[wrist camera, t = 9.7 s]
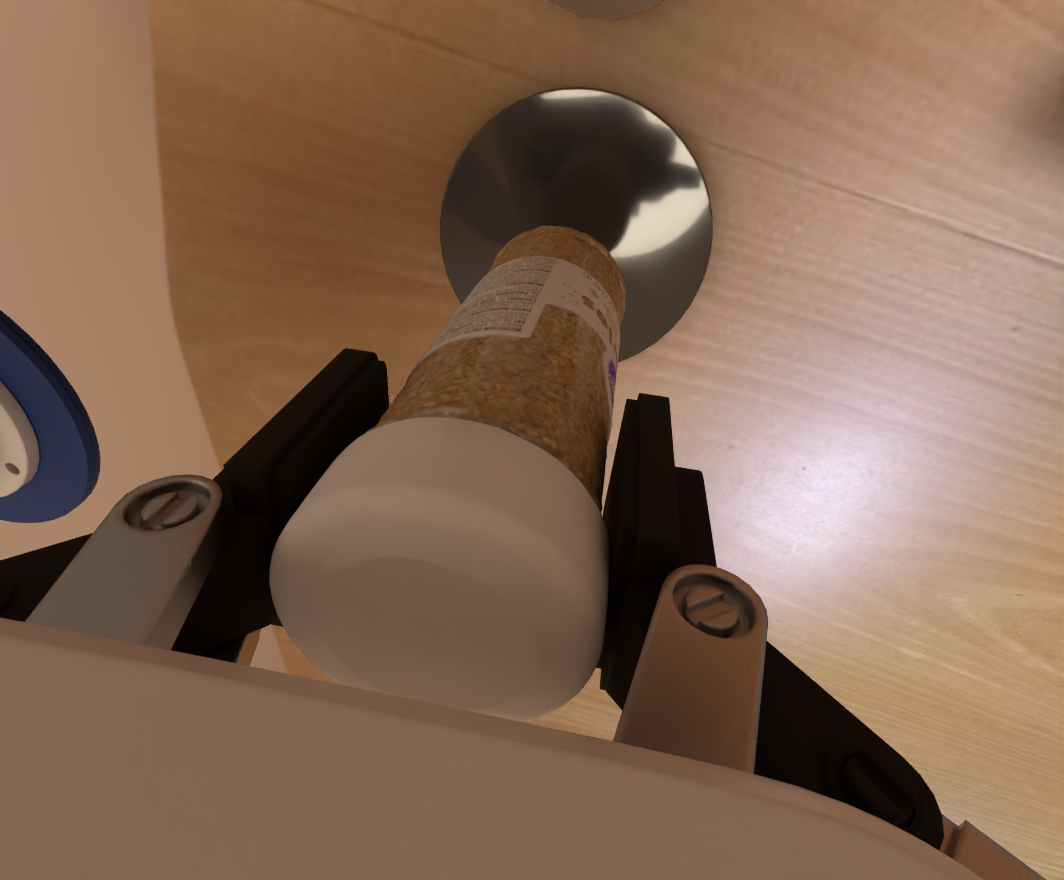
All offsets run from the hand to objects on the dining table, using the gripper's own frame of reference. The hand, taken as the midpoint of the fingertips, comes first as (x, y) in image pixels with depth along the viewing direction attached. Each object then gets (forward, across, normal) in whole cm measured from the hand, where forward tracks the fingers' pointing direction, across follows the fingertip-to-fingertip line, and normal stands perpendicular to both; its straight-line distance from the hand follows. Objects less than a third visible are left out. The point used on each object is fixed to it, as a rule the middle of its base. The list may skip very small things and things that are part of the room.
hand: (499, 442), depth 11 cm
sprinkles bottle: (+9, 0, 0) cm, 9 cm away
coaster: (+15, 0, 0) cm, 15 cm away
